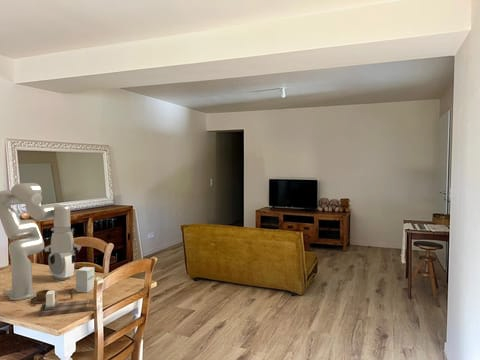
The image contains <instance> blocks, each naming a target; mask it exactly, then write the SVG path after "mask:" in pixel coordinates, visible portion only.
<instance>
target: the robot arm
mask: <svg viewBox="0 0 480 360" xmlns="http://www.w3.org/2000/svg"><path fill="white" fill-rule="evenodd" d="M42 192H43V191H42V187H41V185H40V184H38V183H36V182H24V183H16V184H14V185H13V186H12V188H11V189H7V190H5V189H4V190H0V223H1V224H2V228H3V230H4V232H5V235H6V237H7V238H9V239H10V240H14V241H12V242H11V243H10V244H9V245H8V253H9V258H10V267H11V271H10V273H11V289H8V290H7V289H6V290H5V289H4V290H3V291H2V294H3V295H4V296H7V295H9V296H8V300H10V301H23V300H28V299H30V298H31V299H32V298H33V297H35V296H36V293H37V292H36V291H35V290H33V266H32V265H33V263H32V261H31V260H30V259H29V256H30V255H35V254H39V253H41V252H42V251H44V252H45V253H46V254H47V255H48V257H49V256H50V262H51V264H54V263H55V256H54V253H69V252H70V253H71V254H72V263H74V262H76V261H77V254H78V253H79V252H80V250H81V248H82V245H80V244H77V243H75V239H74V236H73V235H74V234H73V232H72V231H71V227H72V226H71V207H70V206H69V205H67V204H66V205H64V204H63V205H61V204H58V203H55V204H54V203H53V204H45V205H40V204H41V203H42V201H43V196H42ZM23 204H24V205H25V211H26V213H27V215H29V216H30V217H32V219H34V220H36V221H40V222H42V221H49V220H53V227H51V228H50V232H51V231H53V232H52V233H51V239H50V244H49V245H47V246H45V241H44V239H43V236H42V233H41V230H40V229H39V226H38V224H37V223H36V222H35V221H34V220H32V219H22V220H21V218H20V216H19V214H18V212H17V211H16V209H14V208H13V207H11V206H15V205H17V206H18V205H23ZM20 238H21V239H20ZM15 239H16V240H15ZM75 248H76V250H75Z"/></svg>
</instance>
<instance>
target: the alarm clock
mask: <svg viewBox="0 0 480 360" xmlns="http://www.w3.org/2000/svg"><path fill="white" fill-rule="evenodd" d="M54 256H55V263H54V264H51V262H50V256H49V255H48V256H47V257H48V258H47V262H48V267H49V274H50V275H52V279H55V278H56V279H55V280H59V281H66V279H67V280H70V279H71V277H72V276H74V273H75V262H76V261H75V262H74V263H72V254H71V253H70V252H69V253H54Z"/></svg>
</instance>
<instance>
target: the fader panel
mask: <svg viewBox="0 0 480 360" xmlns="http://www.w3.org/2000/svg"><path fill="white" fill-rule="evenodd" d="M94 299H95V298H91V299H85V300H84V299H82V300H76V301H67V302H66V301H64V302H57V304H56V306H55V308H54V309H49V310H45V306H46V303H43V304H41V306H40V308H39V309H40V311H38V312H39V313H38V316H39V317H41V318H42V317H48V316H49V317H50V316H57V315H64V314H65V315H66V314H67V315H68V314H73V313H75V314H76V313H81V312H82V313H83V312H90V311H91V312H92V311H95V310H94Z"/></svg>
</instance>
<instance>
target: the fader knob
mask: <svg viewBox="0 0 480 360" xmlns="http://www.w3.org/2000/svg"><path fill="white" fill-rule="evenodd" d="M55 295H56V291H55V290H51V291H48V292H47V294H46V303H45V305H46V306H45V310H49V309H54V308H55V306H56V304H57V303H58V302H57V301H56V299H55Z"/></svg>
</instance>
